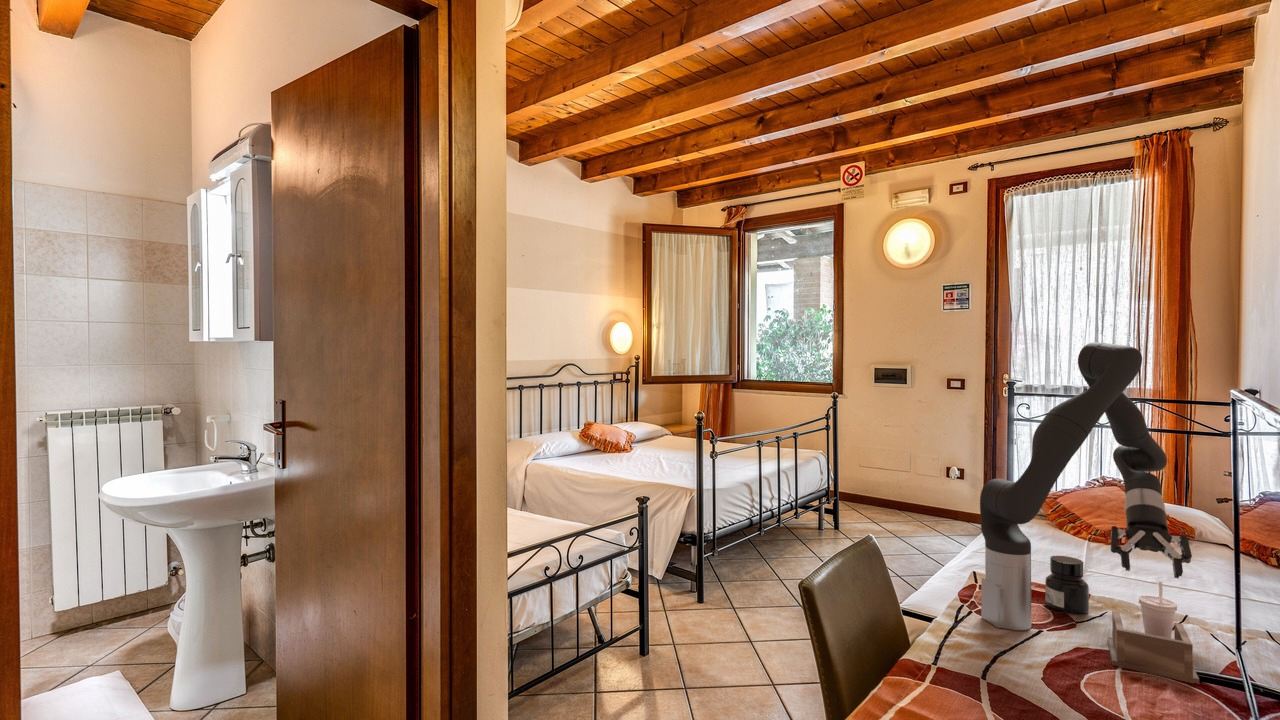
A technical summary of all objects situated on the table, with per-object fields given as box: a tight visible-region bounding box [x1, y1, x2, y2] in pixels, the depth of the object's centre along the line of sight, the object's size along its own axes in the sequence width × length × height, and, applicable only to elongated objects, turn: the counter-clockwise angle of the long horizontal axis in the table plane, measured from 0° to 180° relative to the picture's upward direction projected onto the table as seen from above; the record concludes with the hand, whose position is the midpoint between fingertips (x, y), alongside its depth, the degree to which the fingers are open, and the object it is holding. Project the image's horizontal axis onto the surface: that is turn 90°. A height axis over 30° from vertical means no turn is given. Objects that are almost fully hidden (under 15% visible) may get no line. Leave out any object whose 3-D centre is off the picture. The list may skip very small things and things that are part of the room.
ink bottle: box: [1044, 555, 1090, 615], centre depth 150 cm, size 10×9×12 cm
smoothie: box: [1137, 581, 1178, 639], centre depth 130 cm, size 6×6×14 cm
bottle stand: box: [1107, 610, 1200, 685], centre depth 123 cm, size 13×13×7 cm
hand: (1152, 572), depth 136 cm, fingers open, 8 cm apart
